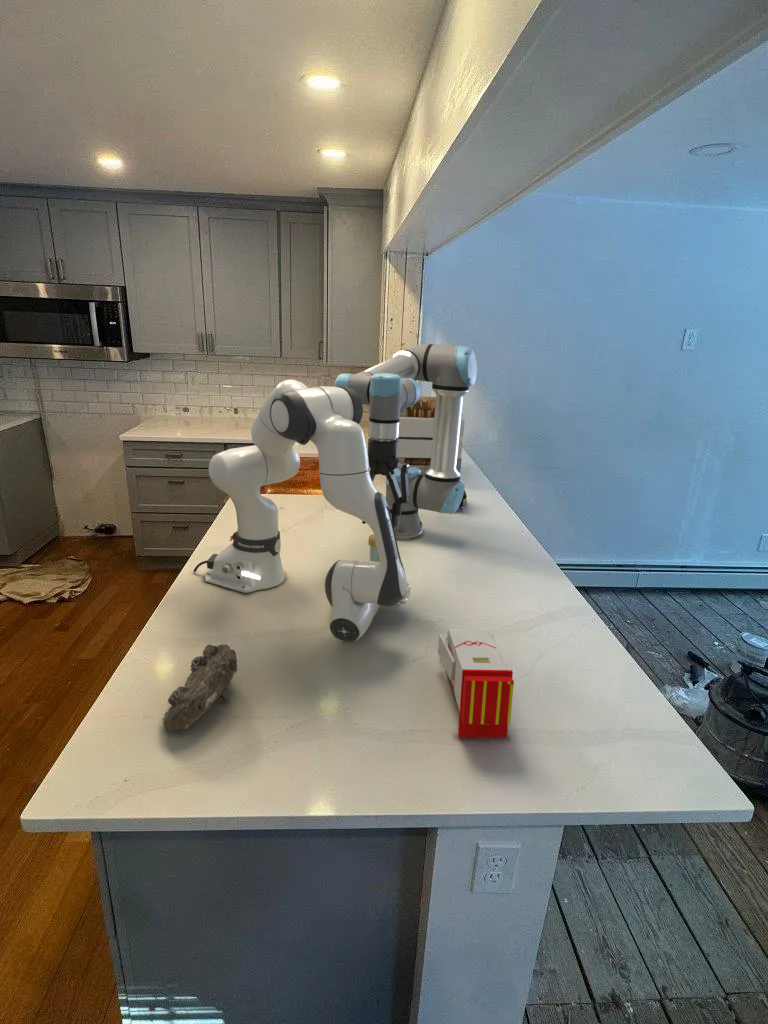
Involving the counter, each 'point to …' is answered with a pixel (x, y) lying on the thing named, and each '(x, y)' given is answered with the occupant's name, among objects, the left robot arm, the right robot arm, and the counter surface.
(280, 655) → the counter surface
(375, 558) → the jar
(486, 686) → the toy
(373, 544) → the lid
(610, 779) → the counter surface
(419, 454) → the white slatted crate
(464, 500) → the figurine character
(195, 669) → the fossil
